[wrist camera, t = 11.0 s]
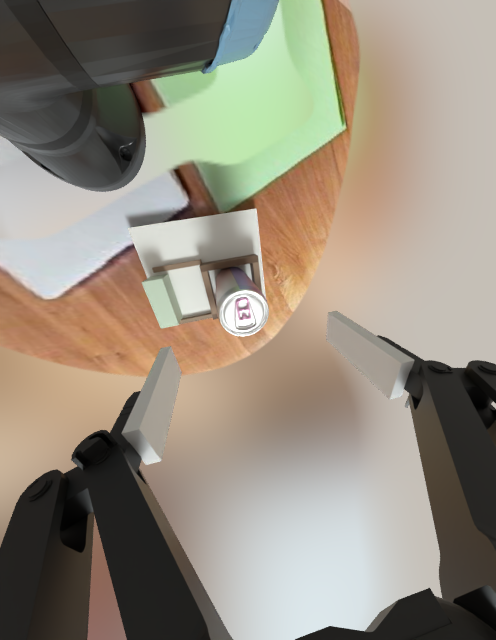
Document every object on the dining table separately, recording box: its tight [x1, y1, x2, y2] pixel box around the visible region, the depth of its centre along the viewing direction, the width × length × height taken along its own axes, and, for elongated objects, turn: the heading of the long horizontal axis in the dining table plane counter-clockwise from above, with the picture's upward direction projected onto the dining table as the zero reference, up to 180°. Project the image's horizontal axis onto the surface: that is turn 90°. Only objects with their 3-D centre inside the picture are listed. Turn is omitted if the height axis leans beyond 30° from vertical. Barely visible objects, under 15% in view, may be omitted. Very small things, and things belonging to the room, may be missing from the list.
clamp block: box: [142, 274, 183, 328], centre depth 30 cm, size 8×3×4 cm, turn 9°
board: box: [128, 209, 266, 324], centre depth 32 cm, size 17×20×2 cm
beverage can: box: [216, 266, 269, 336], centre depth 26 cm, size 6×6×15 cm
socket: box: [199, 254, 262, 319], centre depth 32 cm, size 10×10×3 cm
